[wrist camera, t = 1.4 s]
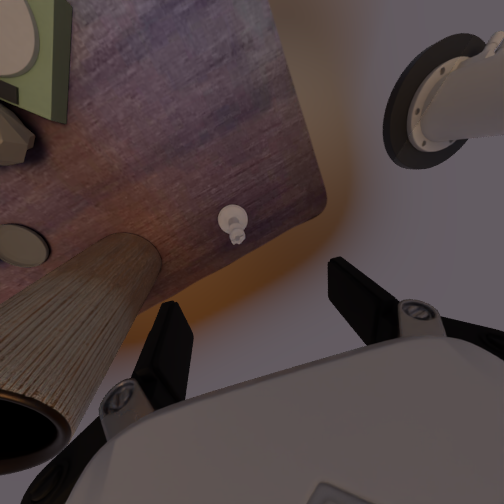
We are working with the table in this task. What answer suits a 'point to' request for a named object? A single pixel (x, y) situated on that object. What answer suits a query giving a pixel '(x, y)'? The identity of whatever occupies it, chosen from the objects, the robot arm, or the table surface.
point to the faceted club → (13, 138)
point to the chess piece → (233, 222)
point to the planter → (66, 344)
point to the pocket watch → (22, 246)
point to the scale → (36, 56)
